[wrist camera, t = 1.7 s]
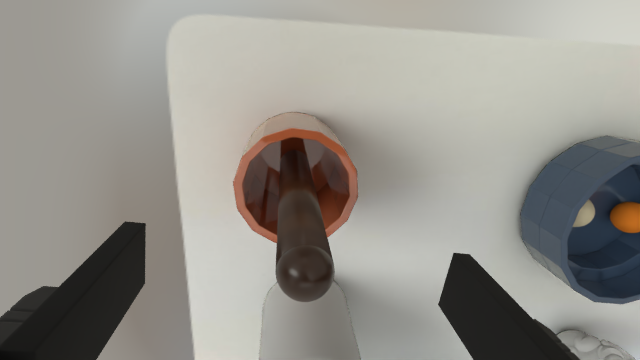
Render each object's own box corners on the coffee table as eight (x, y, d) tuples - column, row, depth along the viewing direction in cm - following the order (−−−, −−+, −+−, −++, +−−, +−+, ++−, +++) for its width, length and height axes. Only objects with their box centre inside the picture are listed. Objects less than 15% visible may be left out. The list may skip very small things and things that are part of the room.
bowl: (545, 125, 33) (601, 139, 27) (676, 146, 35) (754, 162, 29) (498, 261, 37) (538, 297, 31) (617, 272, 39) (675, 308, 33)
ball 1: (554, 188, 34) (579, 199, 31) (582, 192, 34) (608, 203, 32) (543, 217, 35) (566, 230, 32) (570, 220, 35) (595, 233, 32)
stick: (281, 145, 30) (279, 258, 13) (309, 149, 31) (343, 263, 13) (278, 172, 31) (271, 313, 14) (305, 175, 31) (333, 317, 14)
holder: (250, 105, 29) (238, 120, 22) (348, 119, 31) (369, 138, 23) (241, 197, 32) (228, 239, 24) (332, 207, 33) (347, 250, 26)
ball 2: (609, 195, 35) (638, 207, 32) (635, 198, 35) (666, 210, 32) (597, 223, 36) (624, 237, 33) (623, 226, 36) (652, 240, 33)
